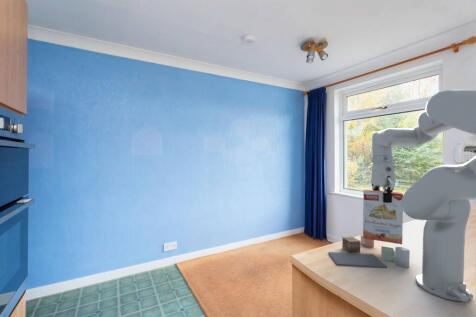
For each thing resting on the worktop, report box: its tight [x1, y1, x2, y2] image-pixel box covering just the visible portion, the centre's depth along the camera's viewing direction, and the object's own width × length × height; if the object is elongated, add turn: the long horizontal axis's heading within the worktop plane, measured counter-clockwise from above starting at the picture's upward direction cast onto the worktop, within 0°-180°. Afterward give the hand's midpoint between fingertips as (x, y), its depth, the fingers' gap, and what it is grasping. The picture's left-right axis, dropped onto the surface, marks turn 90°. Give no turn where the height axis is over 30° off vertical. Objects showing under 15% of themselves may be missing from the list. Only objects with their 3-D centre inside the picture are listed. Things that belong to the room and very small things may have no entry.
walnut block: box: [341, 236, 361, 253], centre depth 97 cm, size 5×5×5 cm
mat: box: [328, 251, 388, 269], centre depth 87 cm, size 10×18×1 cm, turn 84°
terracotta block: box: [360, 234, 375, 248], centre depth 103 cm, size 4×4×4 cm
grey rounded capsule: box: [394, 246, 411, 269], centre depth 84 cm, size 4×4×6 cm
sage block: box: [380, 246, 395, 263], centre depth 89 cm, size 4×4×4 cm
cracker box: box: [362, 189, 404, 245], centre depth 95 cm, size 14×6×21 cm, turn 62°
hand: (381, 200), depth 95 cm, fingers closed on cracker box, 7 cm apart
